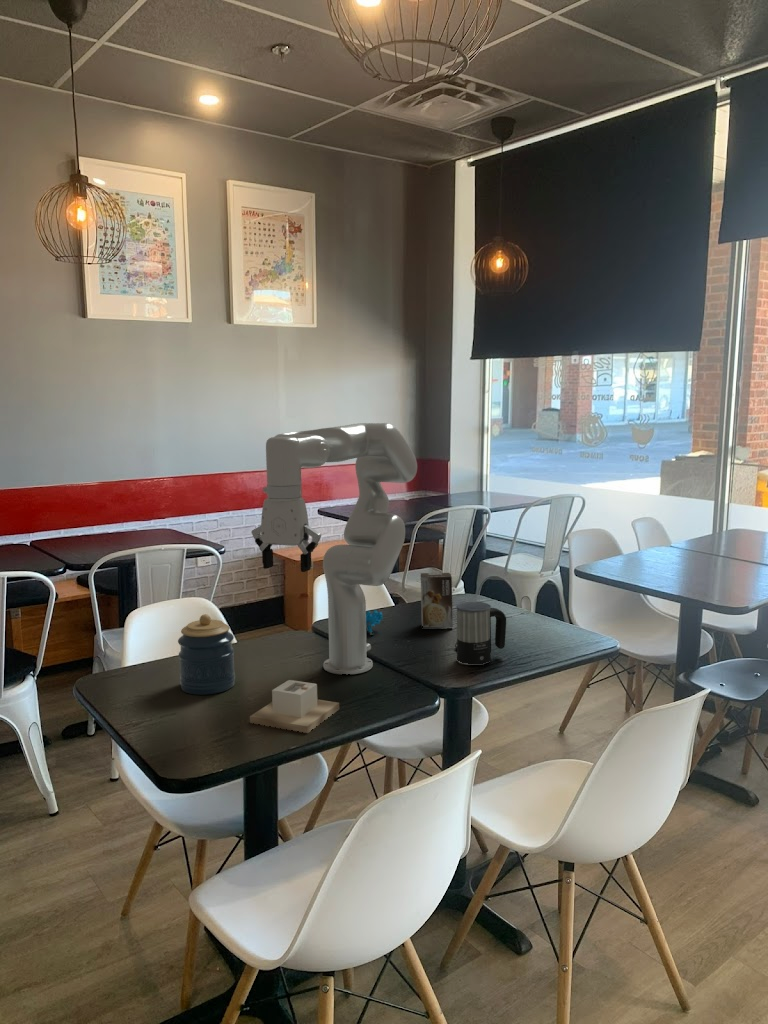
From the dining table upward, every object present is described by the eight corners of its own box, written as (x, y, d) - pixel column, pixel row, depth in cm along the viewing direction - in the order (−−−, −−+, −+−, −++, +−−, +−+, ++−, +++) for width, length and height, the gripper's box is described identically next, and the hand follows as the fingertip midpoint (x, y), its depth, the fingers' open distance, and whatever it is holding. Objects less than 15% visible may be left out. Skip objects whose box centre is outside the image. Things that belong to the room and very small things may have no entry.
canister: (216, 698, 182) (213, 624, 180) (169, 692, 186) (165, 619, 184) (245, 680, 194) (242, 610, 192) (200, 674, 198) (196, 605, 196)
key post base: (284, 700, 180) (283, 674, 179) (339, 709, 175) (338, 683, 174) (250, 723, 168) (248, 695, 167) (307, 733, 162) (306, 705, 161)
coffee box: (450, 623, 241) (450, 572, 239) (452, 629, 235) (452, 576, 233) (420, 624, 241) (420, 572, 239) (422, 630, 235) (421, 577, 233)
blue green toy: (379, 622, 238) (383, 605, 230) (386, 639, 235) (390, 622, 227) (344, 630, 235) (347, 614, 227) (350, 648, 232) (353, 631, 224)
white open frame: (289, 701, 175) (289, 678, 175) (317, 706, 173) (316, 682, 172) (272, 712, 169) (271, 688, 168) (301, 717, 166) (300, 693, 166)
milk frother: (473, 669, 200) (473, 612, 198) (430, 655, 212) (430, 600, 210) (511, 657, 208) (511, 602, 206) (468, 644, 221) (468, 592, 219)
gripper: (241, 493, 175) (244, 569, 177) (310, 496, 167) (312, 575, 170) (260, 490, 181) (263, 563, 184) (327, 492, 174) (329, 568, 177)
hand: (286, 569), depth 177 cm, fingers open, 9 cm apart
